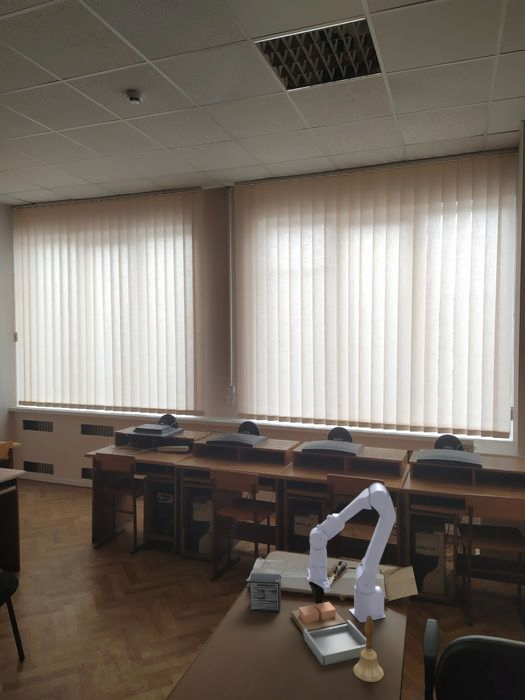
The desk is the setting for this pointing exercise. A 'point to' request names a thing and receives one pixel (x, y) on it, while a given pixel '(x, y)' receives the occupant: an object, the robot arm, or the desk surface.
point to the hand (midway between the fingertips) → (318, 603)
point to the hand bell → (368, 658)
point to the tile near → (325, 610)
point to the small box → (265, 592)
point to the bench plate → (316, 622)
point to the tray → (336, 643)
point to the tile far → (308, 613)
